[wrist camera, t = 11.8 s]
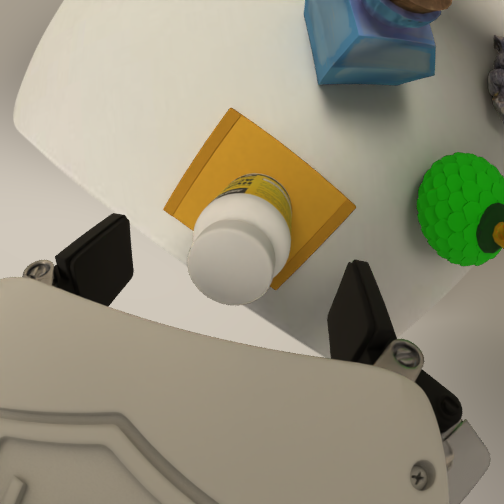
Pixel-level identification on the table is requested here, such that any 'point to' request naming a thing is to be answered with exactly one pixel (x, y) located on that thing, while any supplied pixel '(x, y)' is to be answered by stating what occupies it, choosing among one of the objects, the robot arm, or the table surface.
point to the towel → (268, 163)
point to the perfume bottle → (372, 40)
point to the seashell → (498, 77)
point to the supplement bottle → (241, 240)
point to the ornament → (463, 209)
